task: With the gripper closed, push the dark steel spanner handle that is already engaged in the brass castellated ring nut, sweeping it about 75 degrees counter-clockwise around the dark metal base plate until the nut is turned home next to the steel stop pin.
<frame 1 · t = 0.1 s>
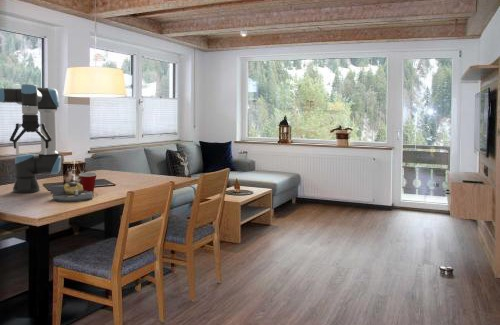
hand: (31, 154, 247), 28 cm above the table, fingers open, 13 cm apart
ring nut: (66, 187, 272), point 6 cm above the table, hinge at -80.0°
base plate: (73, 198, 274), on the table
plastic cup: (88, 192, 294), on the table
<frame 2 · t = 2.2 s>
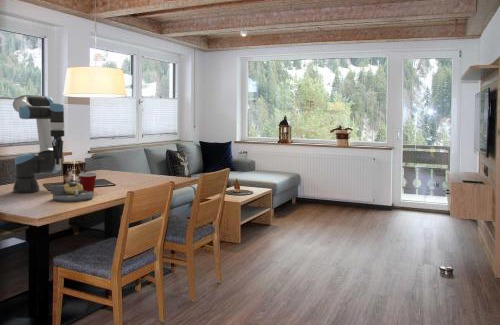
hand: (58, 169, 275), 16 cm above the table, fingers closed
nothing on the table moved.
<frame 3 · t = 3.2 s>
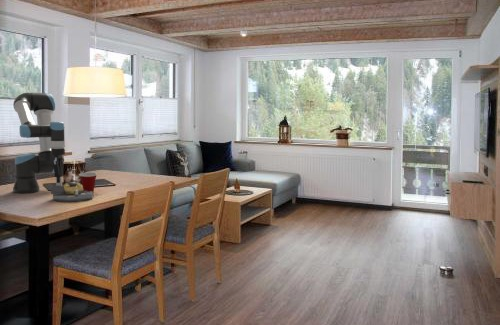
hand: (59, 187, 276), 6 cm above the table, fingers closed
nothing on the table moved.
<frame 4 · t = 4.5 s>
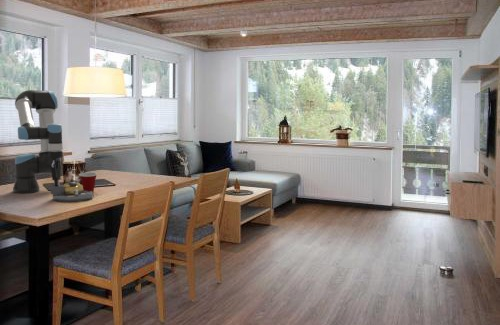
hand: (57, 191, 272), 4 cm above the table, fingers closed
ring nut: (66, 188, 272), point 6 cm above the table, hinge at -76.2°, touching gripper
everything else where it was.
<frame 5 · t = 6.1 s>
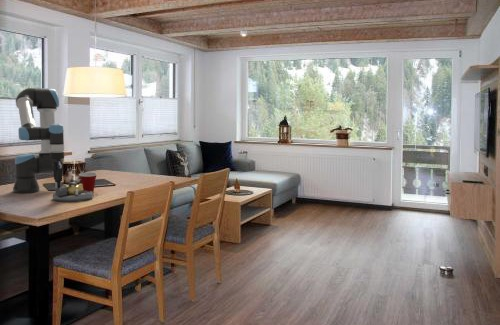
hand: (58, 192, 267), 4 cm above the table, fingers closed
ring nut: (68, 188, 271), point 6 cm above the table, hinge at -36.0°, touching gripper
everything else where it was.
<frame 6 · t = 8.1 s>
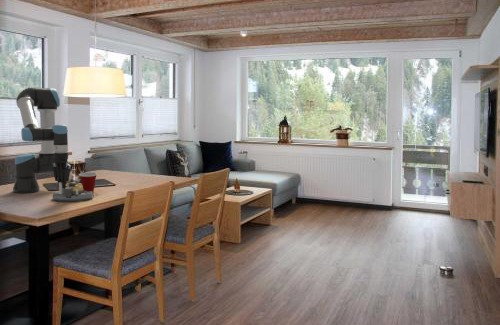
hand: (62, 193, 265), 4 cm above the table, fingers closed
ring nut: (71, 188, 270), point 6 cm above the table, hinge at -6.4°
everything else where it was.
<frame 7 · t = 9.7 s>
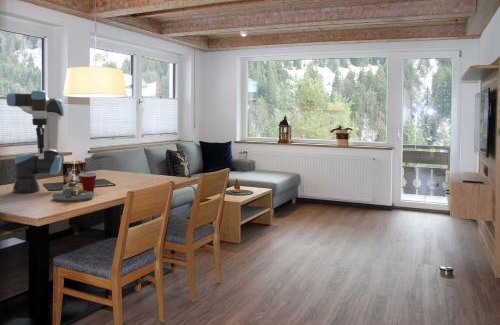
hand: (41, 158, 270), 23 cm above the table, fingers closed
nothing on the table moved.
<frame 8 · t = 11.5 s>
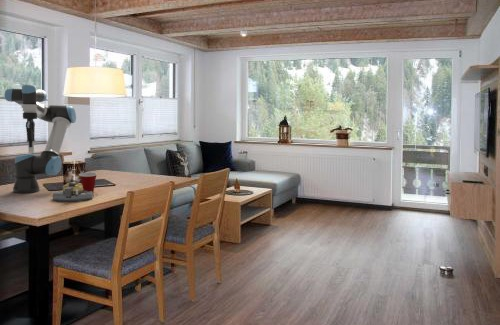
hand: (31, 152, 272), 26 cm above the table, fingers closed
nothing on the table moved.
at the end: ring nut at -7° (first picture: -80°); plastic cup moved 0.2 cm from its start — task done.
